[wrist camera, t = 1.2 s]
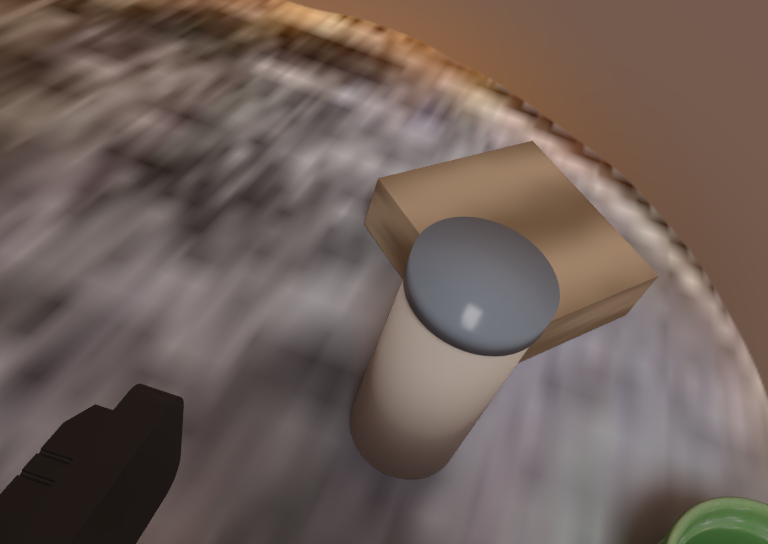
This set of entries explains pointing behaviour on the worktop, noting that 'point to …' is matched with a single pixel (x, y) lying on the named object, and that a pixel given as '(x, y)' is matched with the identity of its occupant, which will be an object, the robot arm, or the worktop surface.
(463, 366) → the canister
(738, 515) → the ramekin
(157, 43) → the worktop surface
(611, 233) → the base block
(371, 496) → the worktop surface
